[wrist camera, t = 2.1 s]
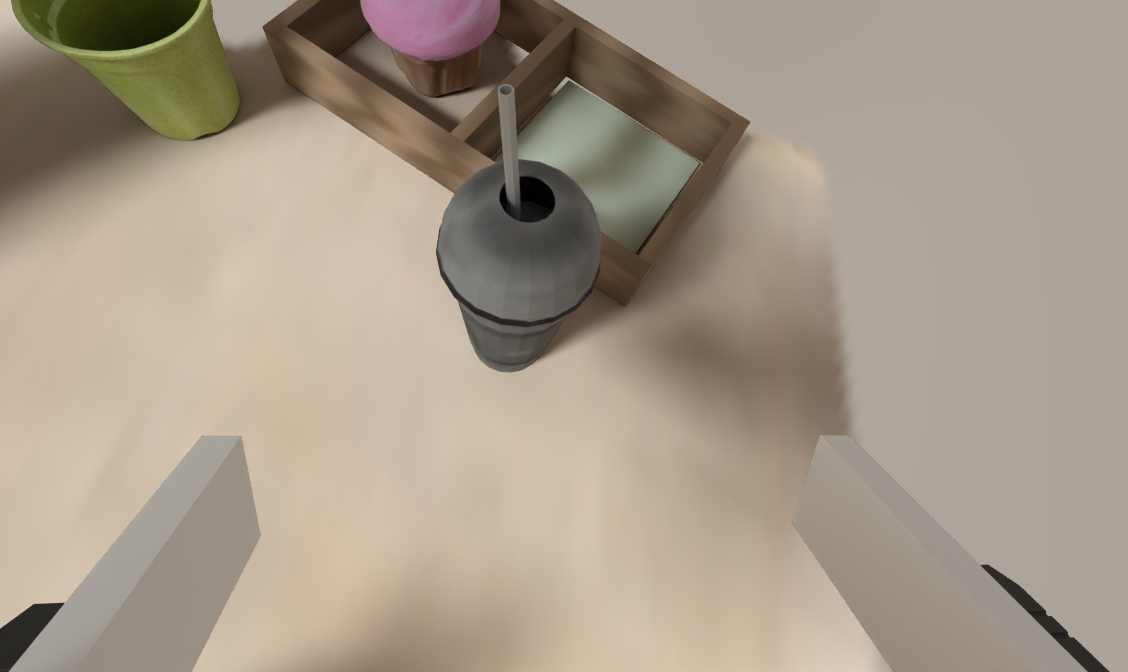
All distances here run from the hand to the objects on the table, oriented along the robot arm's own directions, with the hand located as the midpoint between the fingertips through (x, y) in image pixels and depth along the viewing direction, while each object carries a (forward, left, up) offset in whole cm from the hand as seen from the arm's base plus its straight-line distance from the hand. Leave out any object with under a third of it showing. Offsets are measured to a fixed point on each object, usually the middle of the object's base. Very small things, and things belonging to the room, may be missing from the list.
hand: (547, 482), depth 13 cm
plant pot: (-33, +10, -20) cm, 40 cm away
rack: (-16, +23, -20) cm, 34 cm away
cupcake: (-23, +23, -20) cm, 38 cm away
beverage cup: (-6, +9, -20) cm, 23 cm away
